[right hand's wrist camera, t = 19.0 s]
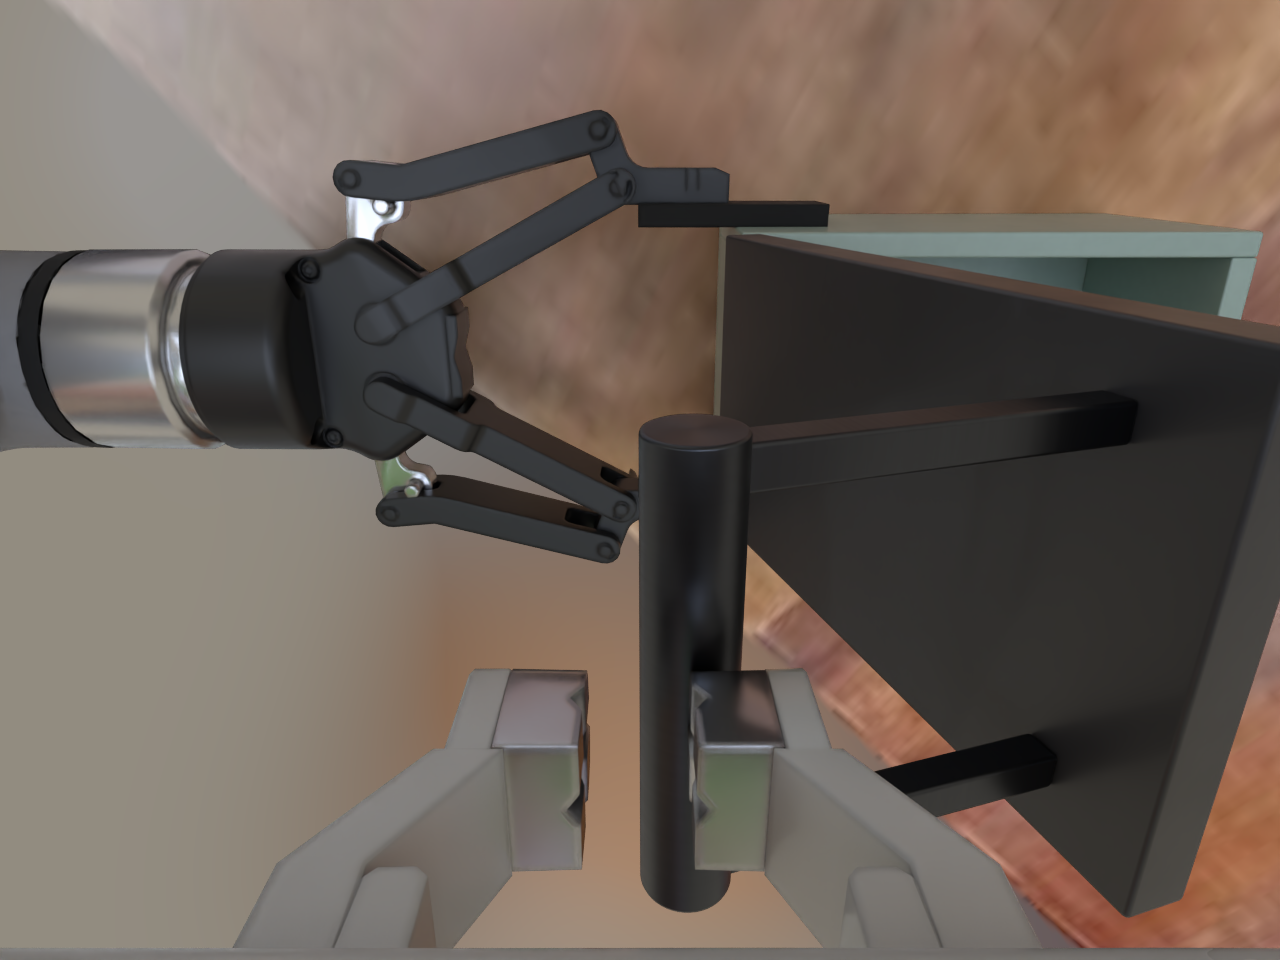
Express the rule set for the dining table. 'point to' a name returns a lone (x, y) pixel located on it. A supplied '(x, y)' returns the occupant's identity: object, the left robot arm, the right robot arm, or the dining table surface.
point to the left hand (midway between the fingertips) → (810, 353)
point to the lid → (977, 542)
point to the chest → (1048, 255)
